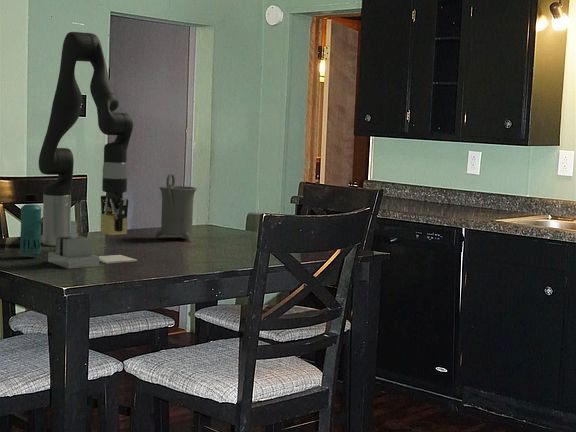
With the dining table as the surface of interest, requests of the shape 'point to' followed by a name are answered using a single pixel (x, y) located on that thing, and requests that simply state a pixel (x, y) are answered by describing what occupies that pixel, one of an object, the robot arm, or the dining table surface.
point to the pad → (115, 259)
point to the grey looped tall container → (176, 209)
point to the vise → (73, 251)
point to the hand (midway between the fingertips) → (113, 229)
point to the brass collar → (111, 224)
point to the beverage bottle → (30, 226)
